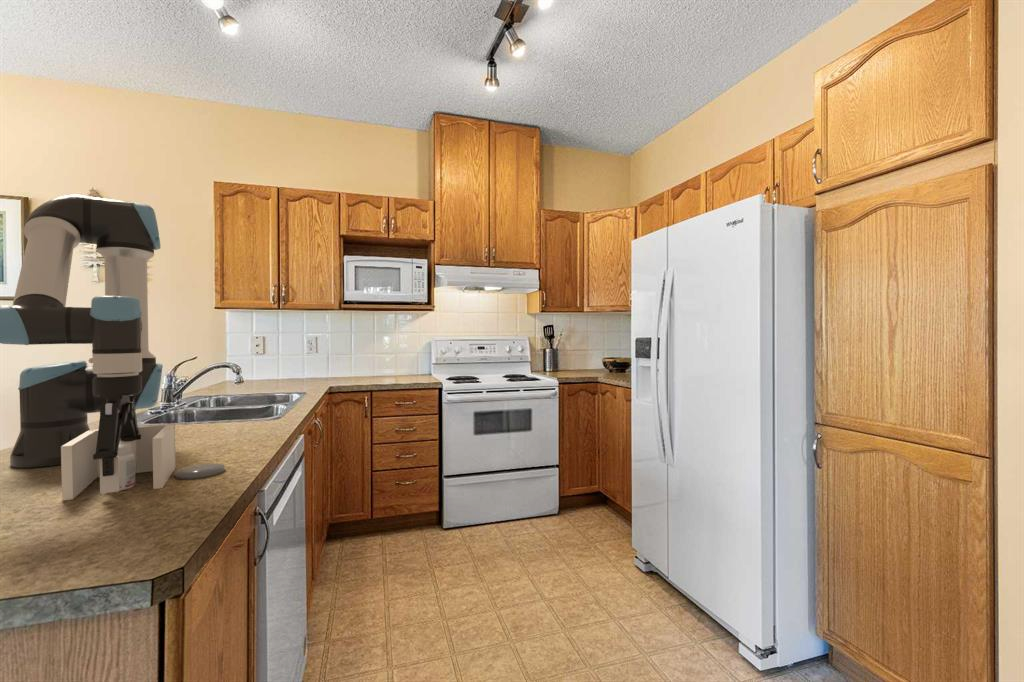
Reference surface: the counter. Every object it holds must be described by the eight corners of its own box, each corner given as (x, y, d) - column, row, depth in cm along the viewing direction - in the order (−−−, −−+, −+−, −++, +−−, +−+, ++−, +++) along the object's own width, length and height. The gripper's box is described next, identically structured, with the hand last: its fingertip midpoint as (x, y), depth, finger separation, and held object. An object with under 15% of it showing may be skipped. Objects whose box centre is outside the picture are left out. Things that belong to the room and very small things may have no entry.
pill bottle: (130, 482, 97) (130, 441, 97) (138, 487, 94) (138, 445, 94) (100, 488, 93) (99, 446, 93) (108, 493, 90) (107, 450, 90)
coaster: (178, 470, 105) (178, 466, 105) (225, 465, 109) (225, 461, 109) (171, 482, 97) (171, 478, 97) (223, 475, 101) (222, 472, 101)
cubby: (90, 476, 101) (89, 429, 100) (175, 467, 108) (174, 423, 107) (62, 500, 87) (60, 446, 86) (162, 487, 94) (161, 437, 93)
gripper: (111, 370, 102) (113, 467, 103) (69, 381, 80) (72, 505, 81) (154, 369, 106) (155, 463, 106) (125, 379, 84) (128, 498, 84)
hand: (119, 481), depth 94 cm, fingers open, 13 cm apart
